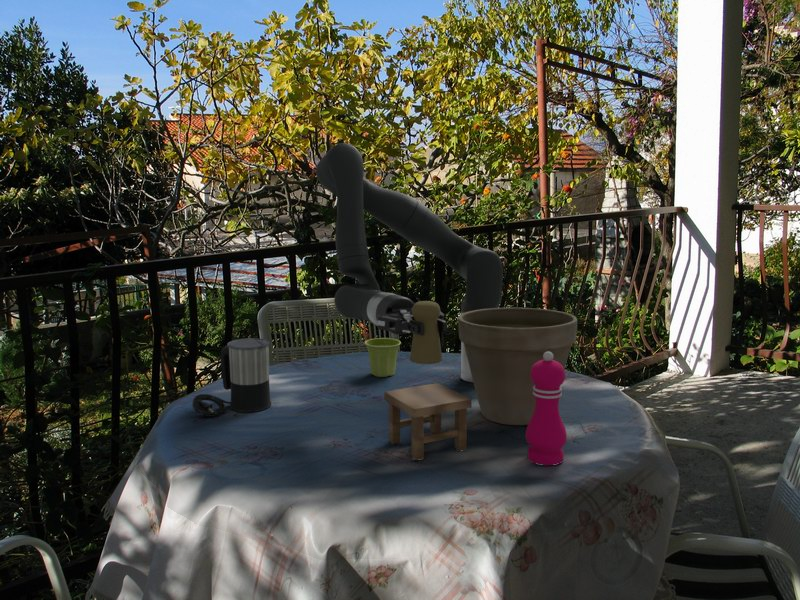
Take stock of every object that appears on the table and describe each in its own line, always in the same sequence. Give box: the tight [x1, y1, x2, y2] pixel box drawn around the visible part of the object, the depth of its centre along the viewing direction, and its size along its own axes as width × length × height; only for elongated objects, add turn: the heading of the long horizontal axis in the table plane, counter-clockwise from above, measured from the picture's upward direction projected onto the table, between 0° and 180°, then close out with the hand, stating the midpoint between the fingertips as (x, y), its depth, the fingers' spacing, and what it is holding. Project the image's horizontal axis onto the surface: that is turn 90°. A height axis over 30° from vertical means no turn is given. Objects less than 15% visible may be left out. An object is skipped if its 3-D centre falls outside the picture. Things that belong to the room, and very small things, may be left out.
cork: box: [409, 300, 443, 365], centre depth 128 cm, size 6×6×11 cm
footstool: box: [383, 382, 472, 461], centre depth 131 cm, size 12×12×10 cm
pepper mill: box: [525, 351, 568, 465], centre depth 124 cm, size 7×7×20 cm
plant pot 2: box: [457, 307, 578, 426], centre depth 148 cm, size 25×25×22 cm
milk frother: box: [192, 337, 272, 417], centre depth 153 cm, size 14×16×15 cm
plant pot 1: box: [364, 337, 402, 378], centre depth 181 cm, size 9×9×9 cm
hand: (433, 328), depth 126 cm, fingers closed on cork, 4 cm apart
